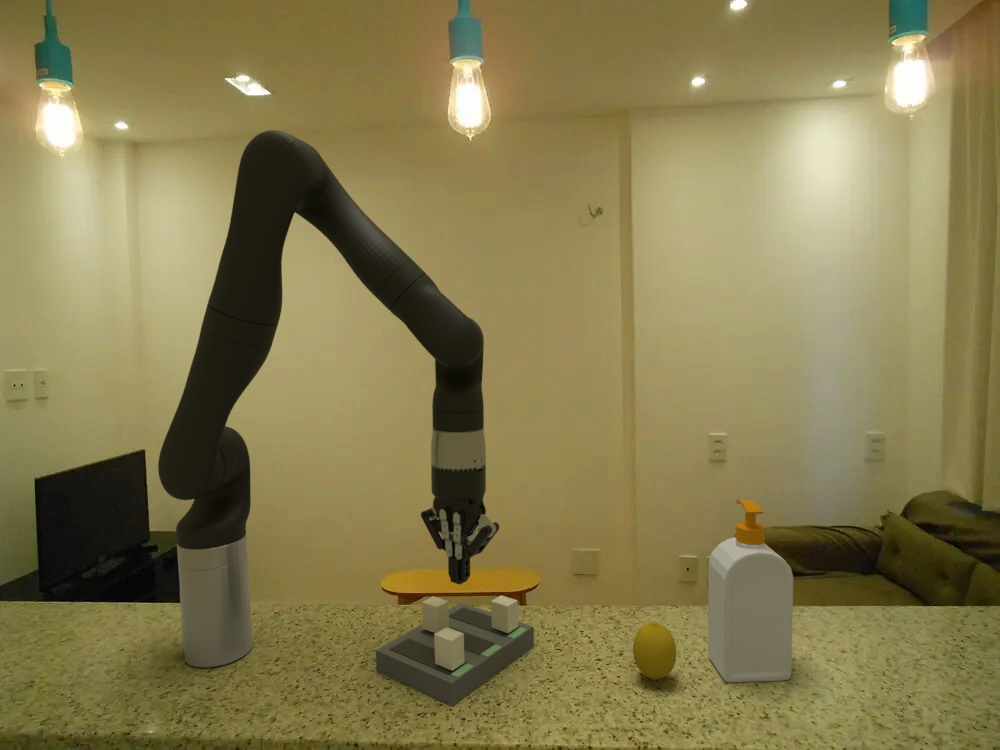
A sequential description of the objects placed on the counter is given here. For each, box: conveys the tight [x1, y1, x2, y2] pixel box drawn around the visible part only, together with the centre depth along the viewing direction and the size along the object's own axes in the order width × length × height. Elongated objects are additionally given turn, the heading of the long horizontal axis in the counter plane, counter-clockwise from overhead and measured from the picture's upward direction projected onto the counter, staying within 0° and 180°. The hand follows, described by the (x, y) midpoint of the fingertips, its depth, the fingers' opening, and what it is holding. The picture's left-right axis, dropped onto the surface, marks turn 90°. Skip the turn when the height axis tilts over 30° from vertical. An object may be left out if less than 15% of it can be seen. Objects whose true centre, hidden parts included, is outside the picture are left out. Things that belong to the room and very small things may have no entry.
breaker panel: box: [375, 602, 535, 707], centre depth 92 cm, size 14×18×3 cm
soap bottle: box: [707, 499, 794, 683], centre depth 87 cm, size 9×7×23 cm
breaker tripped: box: [421, 595, 450, 633], centre depth 94 cm, size 3×2×4 cm
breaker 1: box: [434, 627, 464, 671], centre depth 85 cm, size 3×2×4 cm
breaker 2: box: [490, 595, 519, 633], centre depth 94 cm, size 3×2×4 cm
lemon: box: [632, 620, 677, 681], centre depth 86 cm, size 6×6×8 cm
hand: (459, 581), depth 91 cm, fingers closed
